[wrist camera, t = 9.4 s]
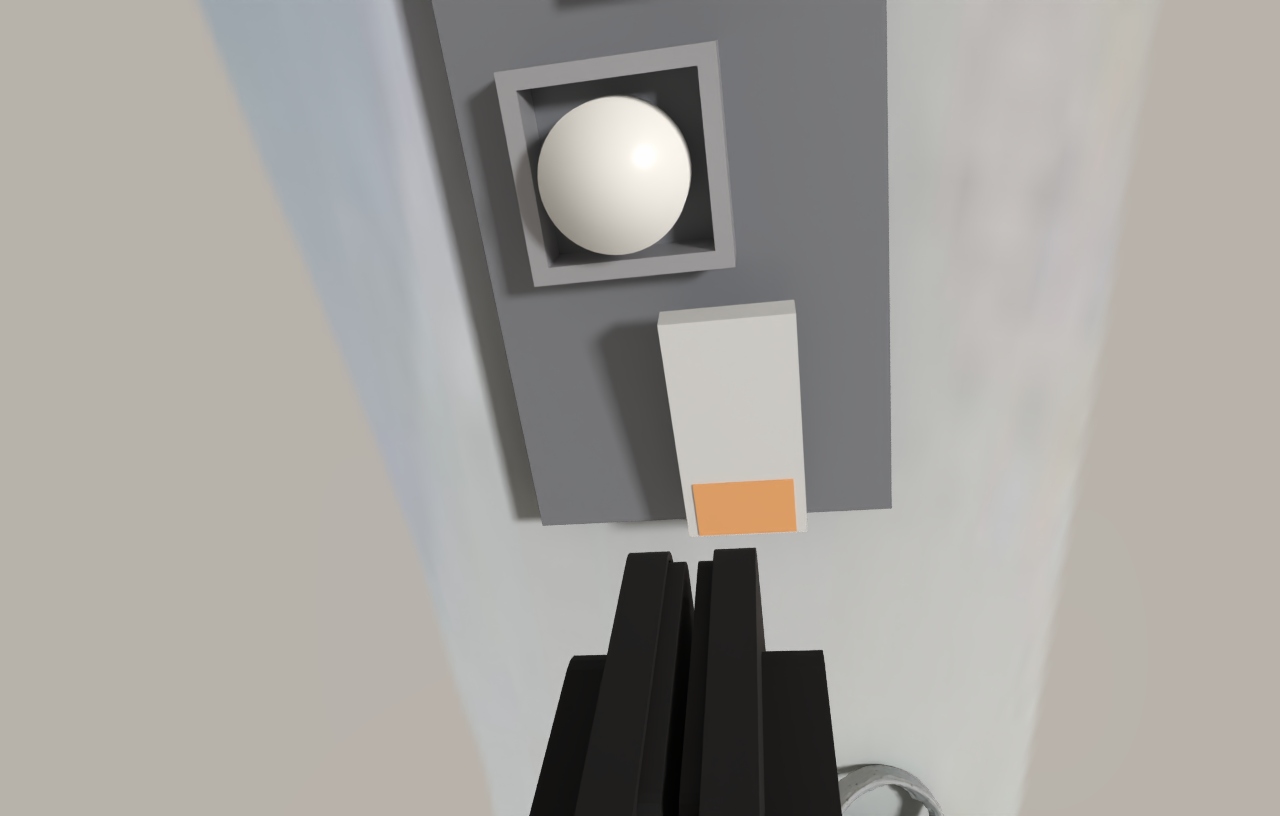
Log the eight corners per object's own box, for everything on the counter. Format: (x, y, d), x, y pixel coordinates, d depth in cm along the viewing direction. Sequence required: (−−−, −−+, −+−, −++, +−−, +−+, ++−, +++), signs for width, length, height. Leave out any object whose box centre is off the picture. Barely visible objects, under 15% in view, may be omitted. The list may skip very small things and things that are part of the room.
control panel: (389, -304, 25) (331, -357, 21) (871, -413, 22) (893, -491, 19) (553, 500, 36) (532, 550, 33) (883, 482, 34) (899, 534, 30)
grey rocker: (659, 311, 27) (657, 326, 26) (794, 299, 27) (796, 314, 26) (690, 519, 32) (689, 538, 31) (805, 514, 31) (807, 532, 30)
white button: (536, 104, 26) (524, 109, 24) (683, 85, 25) (679, 88, 24) (562, 249, 28) (552, 261, 26) (698, 235, 27) (696, 247, 25)
